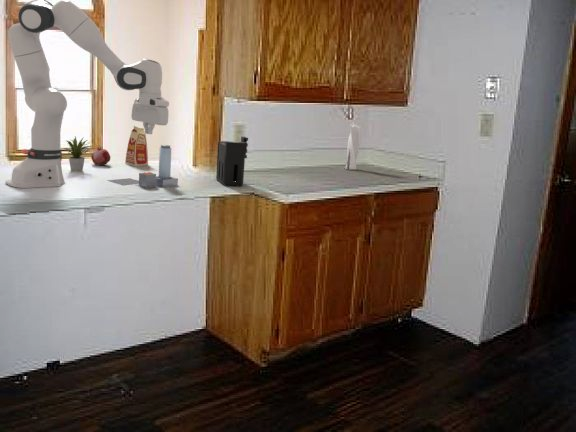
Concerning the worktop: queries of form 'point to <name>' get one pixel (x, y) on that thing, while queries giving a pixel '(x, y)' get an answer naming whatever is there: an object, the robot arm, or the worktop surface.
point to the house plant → (77, 155)
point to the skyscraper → (353, 147)
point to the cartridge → (164, 162)
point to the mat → (125, 181)
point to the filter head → (155, 181)
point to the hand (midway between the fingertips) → (148, 133)
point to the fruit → (100, 156)
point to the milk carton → (137, 148)
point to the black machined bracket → (231, 162)
